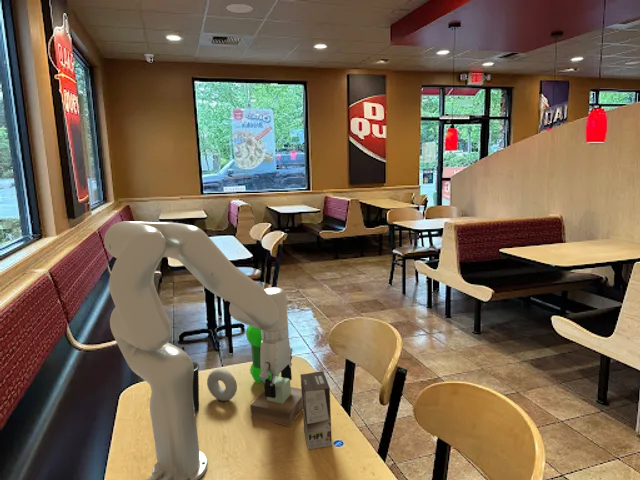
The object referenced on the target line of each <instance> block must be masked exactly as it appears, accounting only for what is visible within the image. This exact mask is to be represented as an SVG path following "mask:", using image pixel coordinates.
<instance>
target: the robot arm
mask: <svg viewBox="0 0 640 480" xmlns="http://www.w3.org/2000/svg"><path fill="white" fill-rule="evenodd" d="M103 241H104V242H103V244H104V247H105V250H106V252H108V253H109V255H111V256H112V257H113V258H115V259H116V260H115V261H114V264H113V267H112V269H111V272H110V276H109V279H108V280H109V281H108V289H109V293H110V295H111V298H112V301H113V303H114V306H115V307H114V308H113V310H112V312H111V314H110V317H109V327H110V330H111V334H112V336H113V338H114V340H115V342H116V344H117V346H118V348H119V350H120V352H121V354H122V356H123V358H124V359H125V362H126V363H127V366H128V367H129V368H130V369H131V371H132V372H133V373H134V374H136V375H137V376H138V377H140V378H141V379H143V380H144V381H145V382H146V383H148V384H149V386H150V389H151V392H150V393H151V395H150V399H149V413H150V418H151V424H152V430H153V431H152V432H153V433H152V434H153V439H154V447H155V452H156V453H155V455H156V461H157V462H156V463H154V465H153V468H152V471H151V476H150V477H148V478H147V479H146V480H199V479H201V478H202V477H203V476H204V475H205V473H206V471H207V469H208V459H207V456H206V454H205V453H204V452H202V451H200V445H199V436H198V428H197V421H196V420H197V419H196V413H195V409H194V402H193V375H194V367H193V363H192V362H193V360H192V358H191V356H189V354H188V353H187V352H186V351H185V352H184V351H183V350H182V348H180V347H178V346H176V345H174V344H172V343H170V342H169V341H170V339H171V336H172V325H171V321H170V318H169V315H168V314H167V312H166V310H165V308H164V305H163V303H162V301H161V299H160V296H159V294H158V292H157V288H156V285H155V280H154V278H155V274H156V270H157V268H158V267H159V264H160V262H161V261H162V259H163V258H171V259H174V260H176V261H179V262H180V263H181V264H182V266H184V267H185V268H186V269H187V270H188V271H189V273H190V274H192V275H193V276H194V278H195V279H196V280H197V281H198V282H199V283H200V284H201V285H202V286H203V287H204V288H205V289H207V290H208V291H210V293H212V294H214V295H215V296H217V297H219V298H220V299H223V300H225V301H228V302H229V303H230V304H229V307H228V308H229V310H228V311H229V315H230V316H231V317H232V318H233V319H234V320H236V321H237V322H239V323H241V324H245V325H247V326H252V327H255V328H257V329H260V330H261V335H262V341H261V350H260V366H261V374H260V379H261V382H262V383H263V384H264V385H263V388H264V390H263V391H265V396H266V397H271V398H275V397H276V391H275V384H274V380H275V376H277V375H278V374H279V373H280V374H279V375H280V377H284V378H289V379H290V381H291V380H292V377H293V376H292V359H293V354H292V353H293V348H292V347H291V344H290V337H289V319H288V307H287V306H288V303H287V302H288V301H287V292H286V291H285V290H284V289H283V288H281V287H277V286H273V287H267V288H263V287H262V286H261V285H259V284H258V283H257V282H256V281H254V280H253V279H252V278H250V277H249V276H248V275H247V274H246V273H245V272H243V271H242V270H241V269H239V268H238V267H236V266H235V265H234V264H233V263H232V262H231V261H230V259H228V257H227V256H226V255H225V254H224V253H223V252H222V251H221V249H220V248H219V247H218V246H217V245H216V244H215V242H214V241H213V240H212V239H211V237H209V235H207V233H206V232H205V231H204V230H202V228H199V226H195V225H192V224H185V223H179V222H160V221H159V222H156V221H155V222H152V221H150V222H149V221H129V220H126V221H125V220H124V221H119V222H116V223H114V224H112V225H111V226H110V227H109V228H108V229H107V230H106V232H105V234H104V239H103ZM269 371H272V373H269ZM268 376H272V377H271V381H270V380H269V379H267V378H268Z"/></svg>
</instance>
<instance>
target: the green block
mask: <svg viewBox="0 0 640 480" xmlns="http://www.w3.org/2000/svg"><path fill="white" fill-rule="evenodd" d="M270 381H271V380H270ZM274 384H275V391H276V397H275V398H271V397H267V400H268V401H272V402H277V403H282V404H283V403H284V402H285V401H286V399H287V398H288V397H289V396H290V395H291V389H290V387H291V380H290V379H289V378H284V377H281V376H275V380H274Z"/></svg>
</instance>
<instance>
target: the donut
mask: <svg viewBox="0 0 640 480" xmlns="http://www.w3.org/2000/svg"><path fill="white" fill-rule="evenodd" d="M219 381H220V382H222V384H224V386H225V388H223V387H221V386H220V384H219ZM206 383H207V389H208V391H209V393H210V394H211V396H213V397H214V398H216V400H219V401H225V402H227V401H230V400H231V399H233V398H234V397H235V395H236V393H237V389H238V384H237V381H236V378H235V377H234V375H233V374H232V373H231V372H230V371H228V370H227V369H224V368H216V369H214V370H212V371H211V372H210V373H209V375H208V376H207V381H206Z"/></svg>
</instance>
